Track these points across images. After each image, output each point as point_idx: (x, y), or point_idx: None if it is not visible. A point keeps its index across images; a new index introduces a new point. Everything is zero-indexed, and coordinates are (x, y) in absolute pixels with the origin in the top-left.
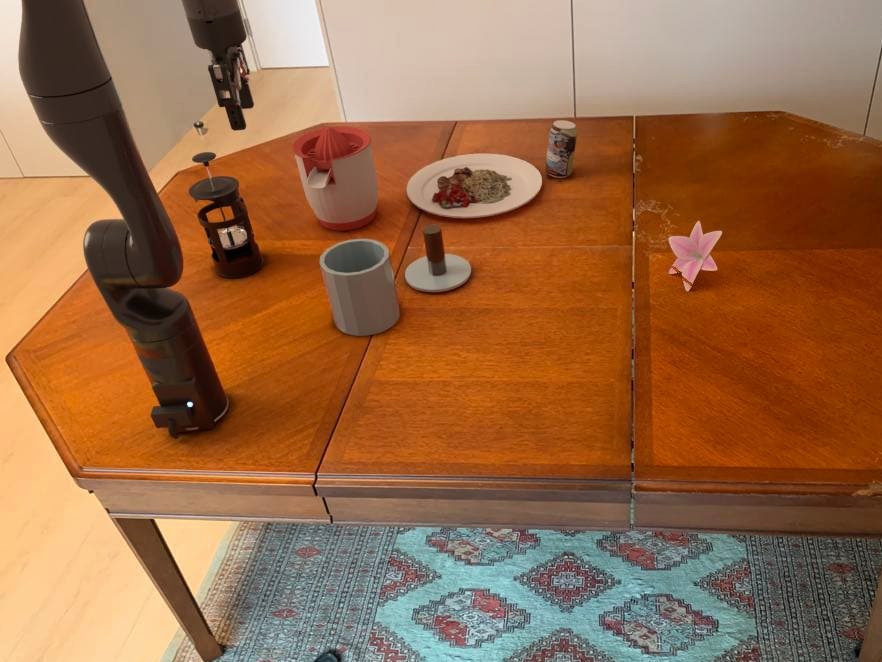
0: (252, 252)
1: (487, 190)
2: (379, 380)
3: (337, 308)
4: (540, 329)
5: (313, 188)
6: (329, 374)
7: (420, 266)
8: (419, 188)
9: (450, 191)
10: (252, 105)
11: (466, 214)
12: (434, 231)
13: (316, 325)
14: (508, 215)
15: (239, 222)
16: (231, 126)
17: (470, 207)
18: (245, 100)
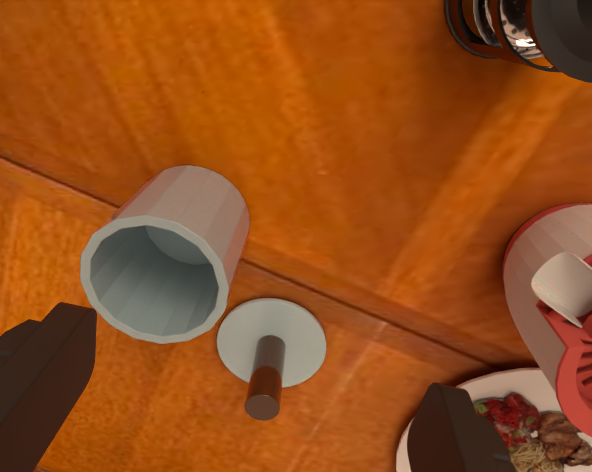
0: (472, 42)
1: None
2: (14, 201)
3: (139, 191)
4: (95, 408)
5: (578, 250)
6: (41, 129)
7: (296, 328)
8: None
9: (501, 430)
10: (410, 448)
11: None
12: (250, 409)
13: (194, 131)
14: None
15: (498, 38)
16: (51, 315)
17: None
18: (428, 457)
